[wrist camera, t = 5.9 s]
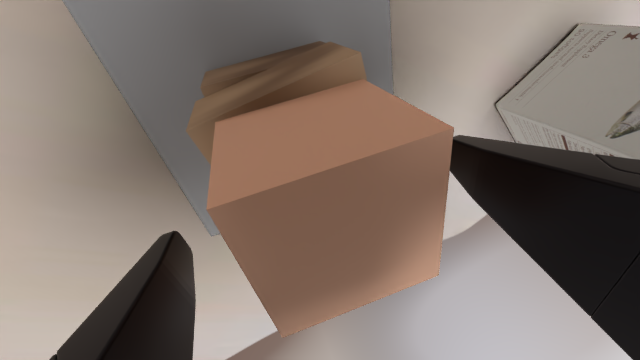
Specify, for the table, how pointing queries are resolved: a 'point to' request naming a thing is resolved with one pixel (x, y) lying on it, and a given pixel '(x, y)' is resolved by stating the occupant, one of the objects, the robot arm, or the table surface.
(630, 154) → the supplement box
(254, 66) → the block
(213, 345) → the table surface
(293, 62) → the tower top
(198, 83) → the felt mat
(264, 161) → the terracotta block
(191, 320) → the robot arm
